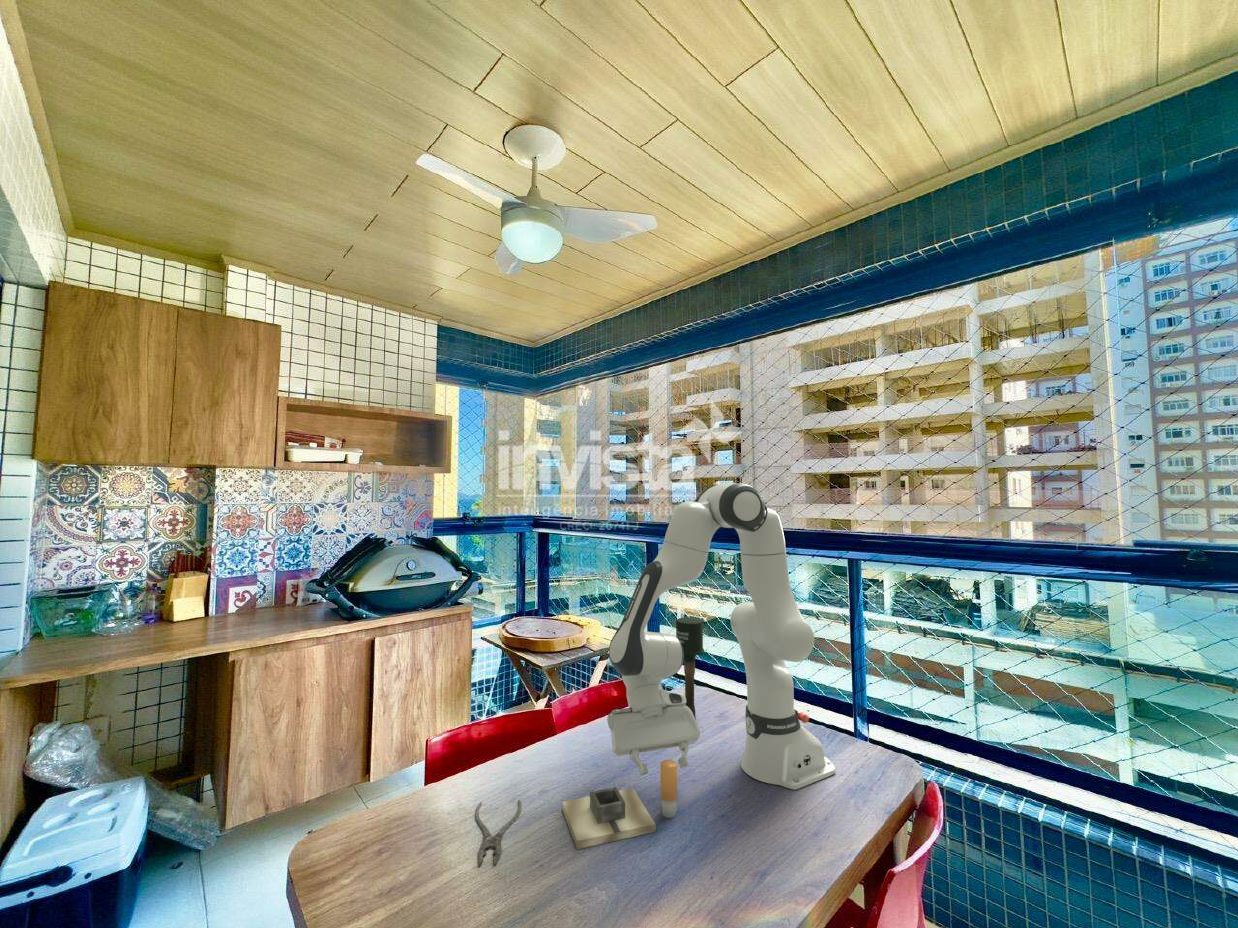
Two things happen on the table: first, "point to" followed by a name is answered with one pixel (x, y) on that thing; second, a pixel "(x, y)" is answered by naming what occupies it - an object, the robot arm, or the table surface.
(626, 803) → the cream rectangular base board
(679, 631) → the stick grenade
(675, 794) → the orange rounded handle
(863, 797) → the table surface
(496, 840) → the pliers
